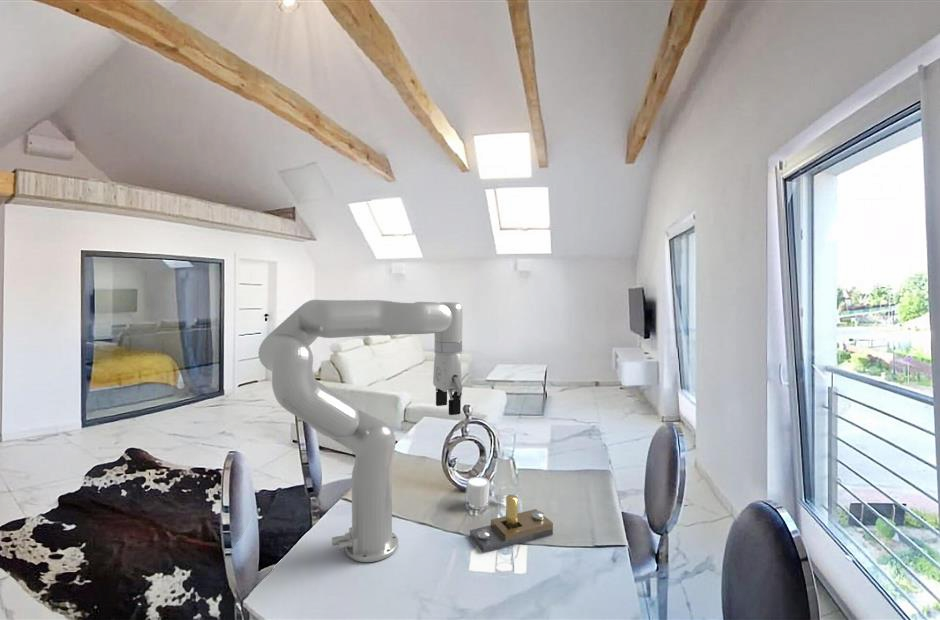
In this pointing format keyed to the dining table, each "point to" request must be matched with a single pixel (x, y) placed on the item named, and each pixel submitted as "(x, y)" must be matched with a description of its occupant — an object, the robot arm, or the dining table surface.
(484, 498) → the white pillar candle
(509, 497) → the brass pin
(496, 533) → the bolted fixture plate
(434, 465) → the dining table surface
